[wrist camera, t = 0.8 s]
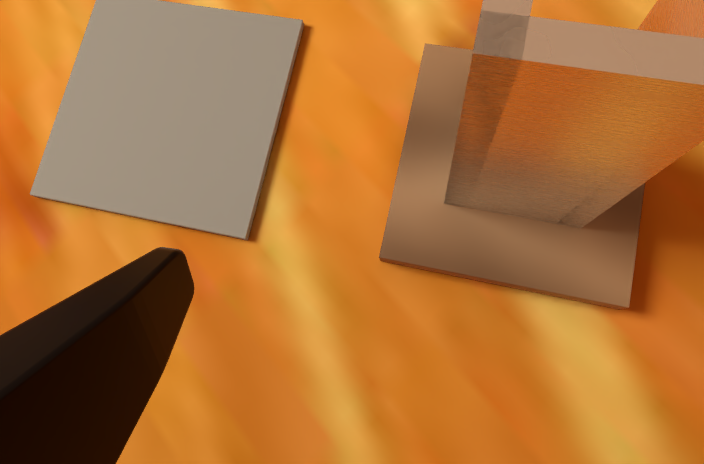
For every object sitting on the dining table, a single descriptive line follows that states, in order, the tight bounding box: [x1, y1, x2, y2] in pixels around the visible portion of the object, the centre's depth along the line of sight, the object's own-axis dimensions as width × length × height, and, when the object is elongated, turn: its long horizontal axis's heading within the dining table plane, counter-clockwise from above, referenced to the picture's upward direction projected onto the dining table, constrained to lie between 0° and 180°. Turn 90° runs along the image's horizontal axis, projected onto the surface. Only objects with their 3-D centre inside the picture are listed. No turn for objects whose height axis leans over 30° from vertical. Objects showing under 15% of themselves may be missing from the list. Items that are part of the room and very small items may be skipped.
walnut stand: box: [379, 44, 645, 309], centre depth 21 cm, size 10×10×5 cm
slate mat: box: [30, 0, 304, 240], centre depth 26 cm, size 11×11×1 cm
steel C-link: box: [444, 0, 704, 228], centre depth 17 cm, size 4×6×12 cm
